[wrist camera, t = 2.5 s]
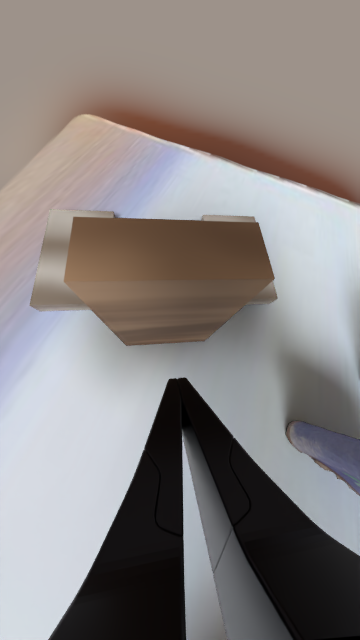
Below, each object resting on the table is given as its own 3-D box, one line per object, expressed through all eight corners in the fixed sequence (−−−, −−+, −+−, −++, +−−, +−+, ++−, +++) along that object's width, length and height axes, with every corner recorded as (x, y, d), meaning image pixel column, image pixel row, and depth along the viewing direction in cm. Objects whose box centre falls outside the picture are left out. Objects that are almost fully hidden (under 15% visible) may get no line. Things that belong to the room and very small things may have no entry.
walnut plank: (204, 340, 18) (275, 278, 7) (126, 345, 17) (63, 281, 6) (201, 314, 19) (258, 222, 8) (126, 317, 18) (73, 216, 7)
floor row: (270, 308, 20) (279, 303, 19) (39, 317, 17) (28, 311, 16) (248, 226, 24) (254, 216, 23) (57, 220, 21) (49, 209, 20)
